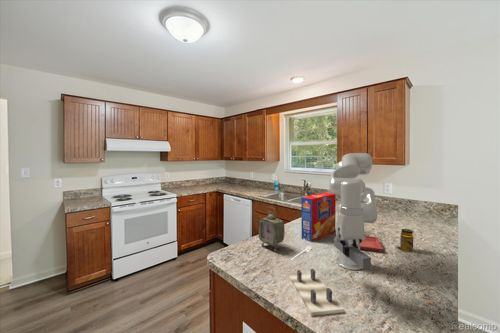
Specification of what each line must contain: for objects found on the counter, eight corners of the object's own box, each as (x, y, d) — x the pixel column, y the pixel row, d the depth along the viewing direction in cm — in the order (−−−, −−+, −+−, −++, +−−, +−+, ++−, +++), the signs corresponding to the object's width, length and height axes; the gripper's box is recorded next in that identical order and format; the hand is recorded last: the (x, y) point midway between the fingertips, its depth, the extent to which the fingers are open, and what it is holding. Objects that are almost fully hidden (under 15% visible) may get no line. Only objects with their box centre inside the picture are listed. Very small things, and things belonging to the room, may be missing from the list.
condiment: (414, 254, 118) (415, 232, 118) (396, 250, 122) (396, 230, 122) (412, 249, 125) (413, 228, 124) (395, 246, 129) (395, 226, 128)
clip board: (289, 277, 97) (289, 266, 96) (314, 275, 98) (314, 263, 98) (311, 316, 73) (311, 301, 73) (344, 312, 74) (344, 297, 74)
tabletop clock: (258, 245, 132) (258, 205, 131) (268, 241, 138) (268, 203, 137) (275, 253, 121) (275, 209, 120) (286, 249, 127) (285, 207, 126)
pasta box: (311, 242, 136) (311, 198, 135) (301, 238, 143) (301, 197, 142) (335, 232, 153) (335, 194, 152) (325, 229, 160) (325, 192, 159)
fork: (288, 260, 114) (288, 256, 114) (307, 248, 128) (307, 245, 128) (293, 262, 112) (293, 258, 112) (312, 249, 126) (312, 246, 126)
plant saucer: (383, 254, 119) (383, 248, 119) (347, 249, 126) (348, 244, 126) (377, 242, 136) (377, 237, 136) (346, 238, 143) (346, 233, 142)
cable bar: (334, 246, 97) (334, 237, 97) (340, 245, 98) (340, 236, 97) (363, 269, 77) (363, 258, 77) (370, 268, 78) (370, 257, 78)
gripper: (362, 207, 91) (362, 249, 92) (327, 209, 89) (327, 252, 90) (375, 212, 84) (374, 257, 85) (336, 214, 82) (336, 261, 83)
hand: (350, 254), depth 87 cm, fingers closed on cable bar, 3 cm apart
